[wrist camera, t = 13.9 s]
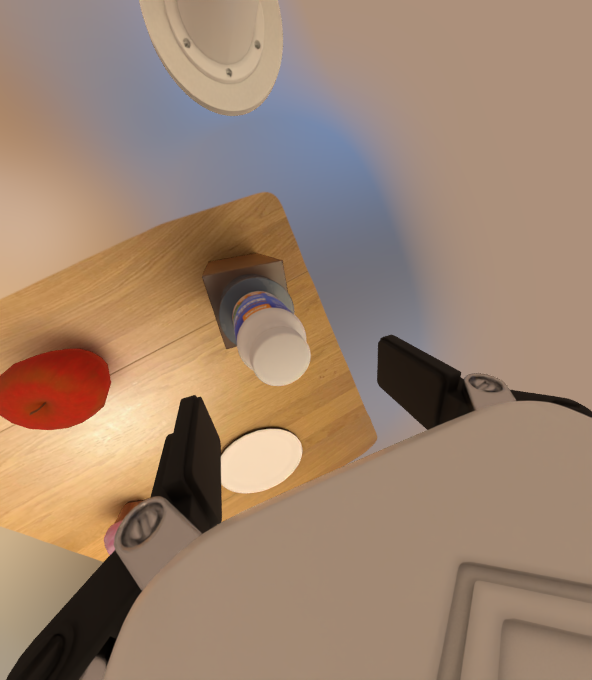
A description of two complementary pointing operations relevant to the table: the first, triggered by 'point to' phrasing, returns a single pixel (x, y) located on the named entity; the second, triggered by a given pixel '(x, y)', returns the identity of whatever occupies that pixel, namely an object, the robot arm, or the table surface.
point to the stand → (231, 268)
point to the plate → (260, 460)
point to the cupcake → (113, 529)
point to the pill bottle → (270, 339)
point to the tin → (240, 289)
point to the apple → (54, 389)
